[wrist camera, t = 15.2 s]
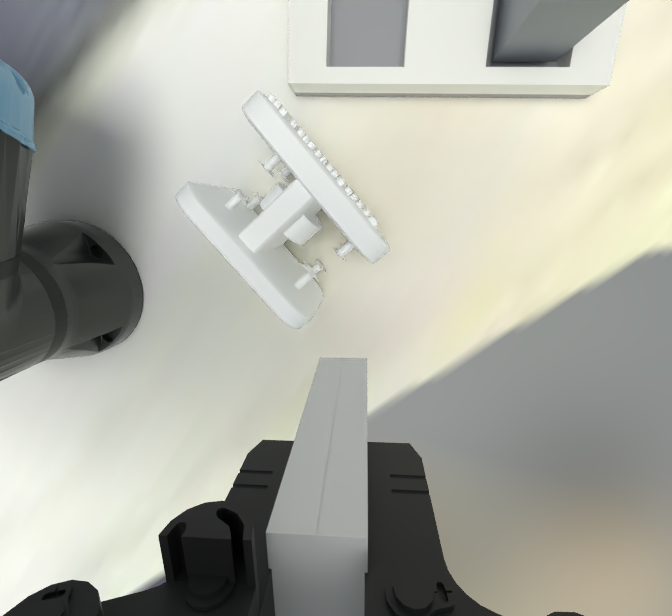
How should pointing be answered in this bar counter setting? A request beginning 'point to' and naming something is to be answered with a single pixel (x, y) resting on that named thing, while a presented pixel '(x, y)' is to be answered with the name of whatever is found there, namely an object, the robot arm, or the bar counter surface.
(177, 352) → the bar counter surface
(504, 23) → the plug
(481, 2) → the socket plate
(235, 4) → the bar counter surface
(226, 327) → the bar counter surface
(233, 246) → the cable organizer
